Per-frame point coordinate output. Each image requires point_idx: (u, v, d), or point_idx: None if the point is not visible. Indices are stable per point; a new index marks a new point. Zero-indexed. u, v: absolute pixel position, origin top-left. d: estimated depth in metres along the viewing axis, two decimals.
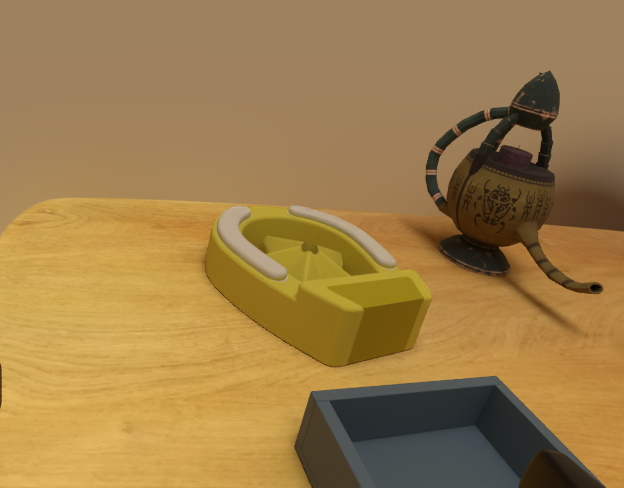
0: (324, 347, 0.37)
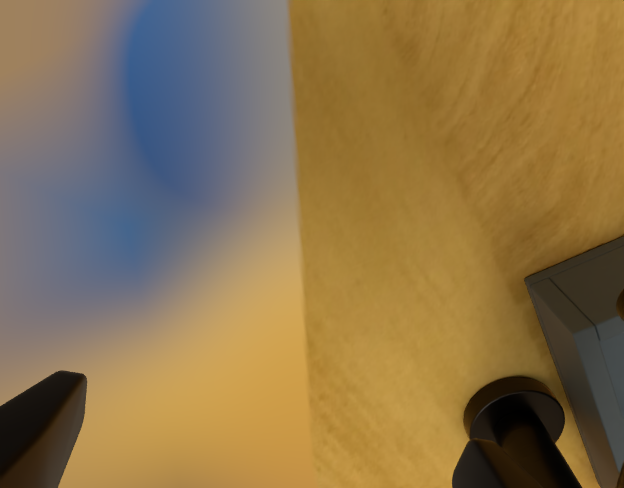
0: None
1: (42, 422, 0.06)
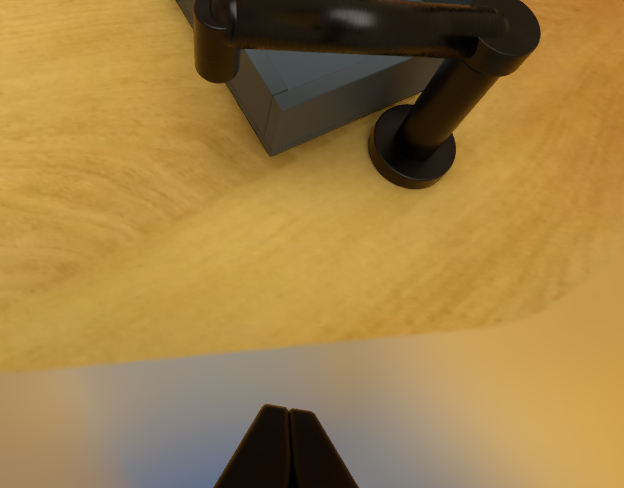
0: None
1: (284, 458, 0.07)
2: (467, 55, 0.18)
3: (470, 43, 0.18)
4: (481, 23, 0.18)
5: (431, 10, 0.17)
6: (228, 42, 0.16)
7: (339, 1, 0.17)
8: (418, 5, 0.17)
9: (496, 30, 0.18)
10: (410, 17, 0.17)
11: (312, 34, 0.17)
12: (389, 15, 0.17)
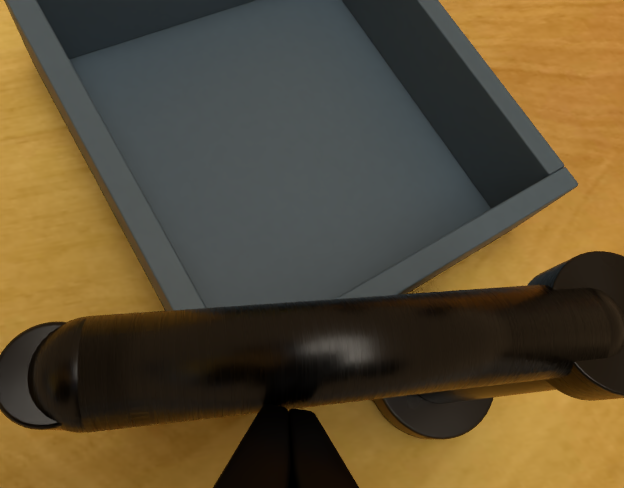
0: None
1: (284, 459, 0.07)
2: (549, 378, 0.10)
3: (558, 371, 0.09)
4: (580, 338, 0.09)
5: (486, 326, 0.09)
6: (74, 431, 0.08)
7: (303, 336, 0.08)
8: (460, 317, 0.09)
9: (607, 346, 0.09)
10: (446, 350, 0.09)
11: (248, 406, 0.08)
12: (405, 351, 0.08)
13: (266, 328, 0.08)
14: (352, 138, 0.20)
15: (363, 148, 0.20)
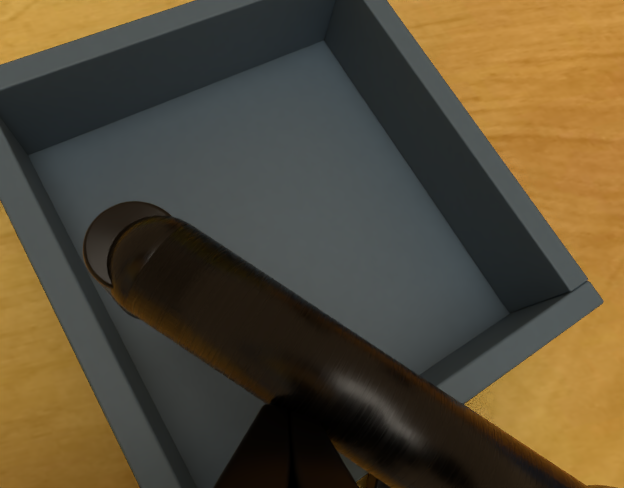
0: None
1: (284, 458, 0.07)
2: None
3: None
4: None
5: (512, 485, 0.08)
6: (118, 302, 0.09)
7: (339, 362, 0.08)
8: (492, 458, 0.08)
9: None
10: (458, 477, 0.08)
11: (254, 385, 0.08)
12: (418, 446, 0.08)
13: (314, 333, 0.08)
14: (351, 229, 0.19)
15: (363, 241, 0.18)
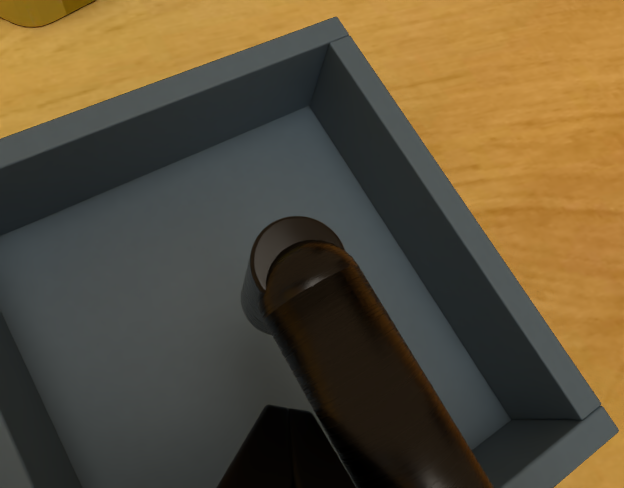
0: None
1: (287, 459, 0.07)
2: None
3: None
4: None
5: None
6: (258, 307, 0.08)
7: (454, 482, 0.07)
8: None
9: None
10: None
11: (355, 458, 0.07)
12: None
13: (440, 437, 0.07)
14: None
15: None
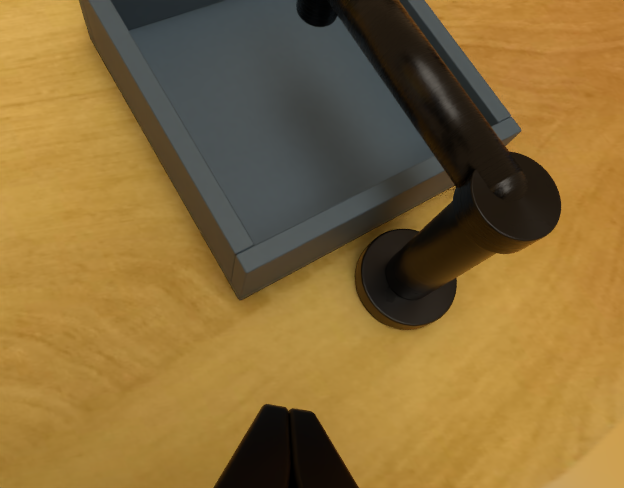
0: None
1: (284, 459, 0.07)
2: (457, 180, 0.15)
3: (464, 168, 0.15)
4: (490, 163, 0.14)
5: (464, 106, 0.15)
6: None
7: (406, 22, 0.16)
8: (460, 93, 0.15)
9: (496, 183, 0.14)
10: (439, 89, 0.15)
11: (361, 20, 0.16)
12: (427, 70, 0.15)
13: (400, 8, 0.16)
14: (345, 98, 0.25)
15: (354, 106, 0.25)
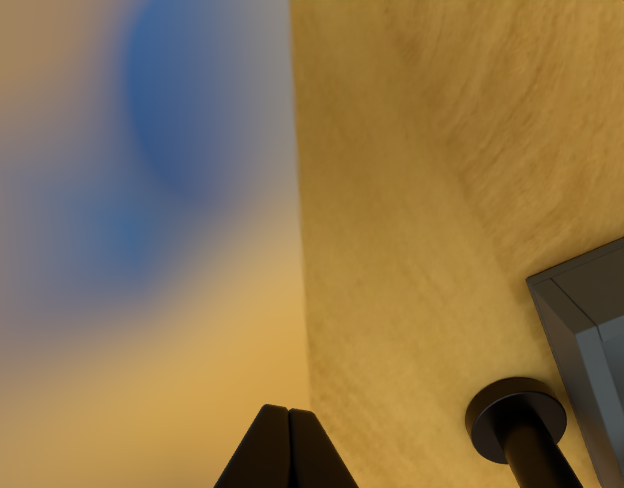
0: None
1: (285, 459, 0.07)
2: None
3: None
4: None
5: None
6: None
7: None
8: None
9: None
10: None
11: None
12: None
13: None
14: None
15: None
